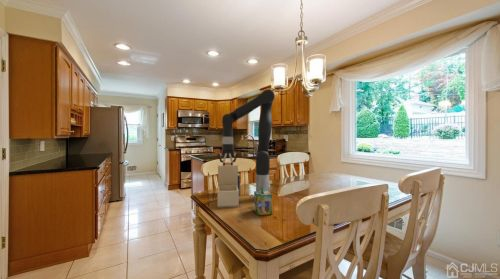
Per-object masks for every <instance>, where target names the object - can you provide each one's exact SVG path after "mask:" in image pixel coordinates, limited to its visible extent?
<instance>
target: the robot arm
mask: <svg viewBox="0 0 500 279" xmlns="http://www.w3.org/2000/svg"><path fill="white" fill-rule="evenodd" d="M275 97H276V94H275V92H274V90H273V89H268V88H267V89H264V90H263V91H262V92H261V93H260V94H258V95H257V96H256V97H255V98H253V99H252V100H250V101H248V102H246V103H244V104H242V105H241V106H239V107H237V108H235V109H234V110H233V111H231V112H230V113H225V114H224V115H223V116H222V117H221V124H222V139H221V141H222V142H221V143H222V146H221V148H222V151H221V152H220V153H217V156H218V159H219V162H220V163H222V166H225V163H226V159H229V160H230V162H231V165H234V163H236V161H237V157H238V153H236V152H234V129H233V124H234V123H235V122H237V121H238V120H239V119H242V118H243V117H245V116H247V115H248V114H250V113H251V112H253V111H254V110H256V109H257V108H259V107H260V114H259V118H258V129H257V137H258V138H257V139H258V140H257V141H258V144H257V146H258V147H257V151H256V156H255V191H261V188H260V186H261V187H262V189H263V191H269V192H270V193H271V190H270V188H271V186H270V165H271V164H270V160H271V159H270V158H271V157H270V155H269V152H270V150H269V148H270V147H269V145H270V140H271V136H272V129H273V128H272V127H273V118H272V117H273V116H272V109H273V108H272V106H273V102H274V101H275V99H276V98H275ZM222 156H223V159H222ZM233 156H234V158H233Z"/></svg>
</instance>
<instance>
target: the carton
mask: <svg viewBox="0 0 500 279" xmlns="http://www.w3.org/2000/svg"><path fill="white" fill-rule="evenodd" d="M217 187H218V188H217V209H218V208H220V209H222V208H239V207H240V206H239V205H240V200H239V199H240V196H239V190H238V185H218V184H217Z"/></svg>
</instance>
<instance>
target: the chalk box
mask: <svg viewBox="0 0 500 279" xmlns="http://www.w3.org/2000/svg"><path fill="white" fill-rule="evenodd" d="M260 188H261V191H256V190H255V191H254V192H253V194H254V195H253V198H254V199H253V203H254V206H253V210H254V212H255V215H256V216H267V215H273V194H272V193H271V191H270V192H269V191H263V189H262V187H261V186H260Z"/></svg>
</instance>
